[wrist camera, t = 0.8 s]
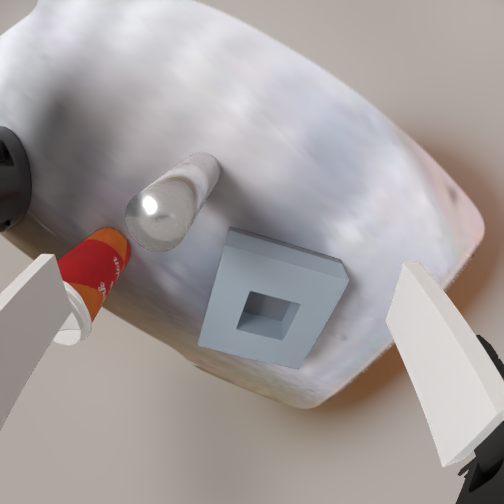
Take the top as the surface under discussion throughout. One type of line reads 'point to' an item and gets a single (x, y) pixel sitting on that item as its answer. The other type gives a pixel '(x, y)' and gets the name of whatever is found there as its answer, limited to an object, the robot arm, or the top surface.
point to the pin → (171, 203)
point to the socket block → (270, 299)
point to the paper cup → (90, 279)
